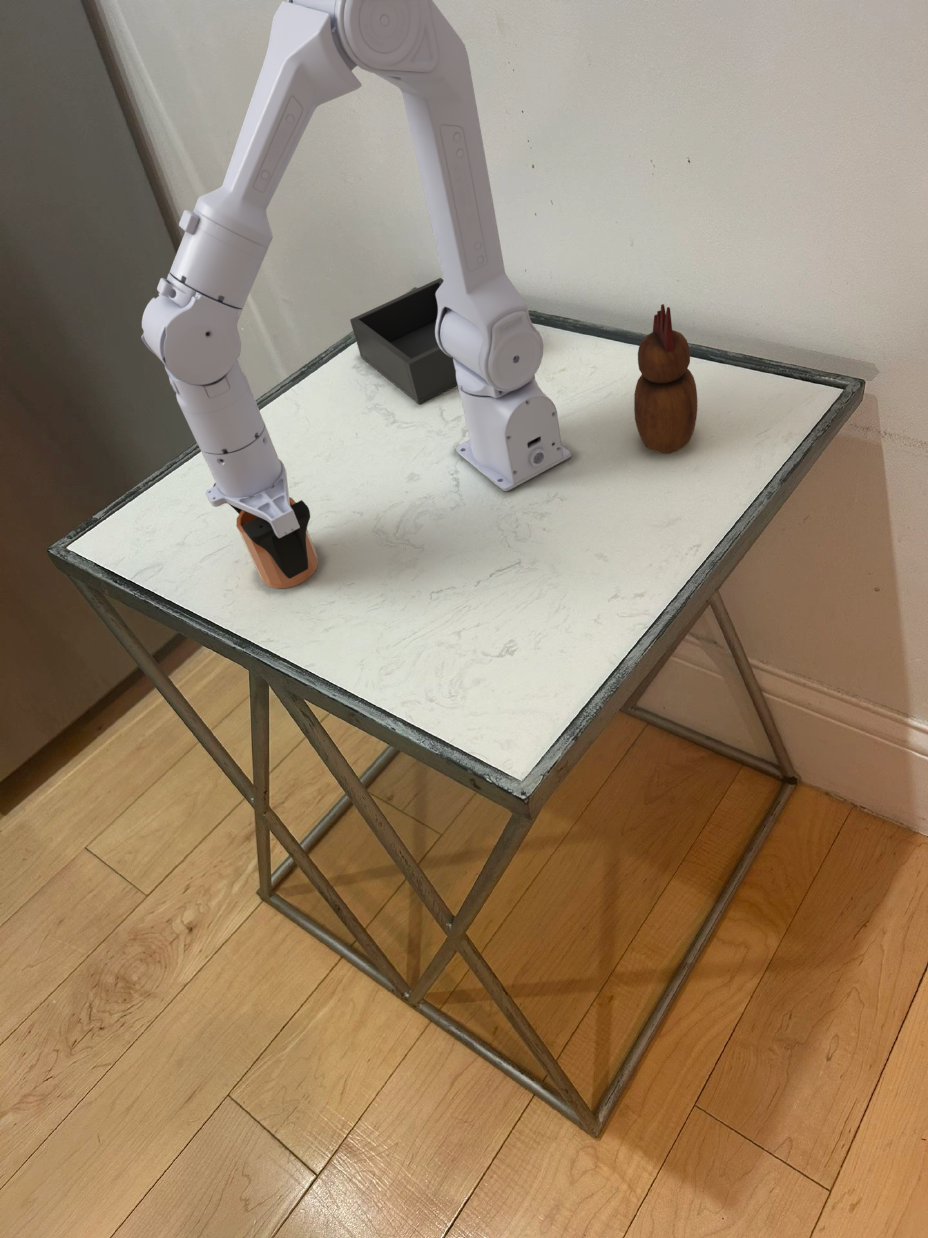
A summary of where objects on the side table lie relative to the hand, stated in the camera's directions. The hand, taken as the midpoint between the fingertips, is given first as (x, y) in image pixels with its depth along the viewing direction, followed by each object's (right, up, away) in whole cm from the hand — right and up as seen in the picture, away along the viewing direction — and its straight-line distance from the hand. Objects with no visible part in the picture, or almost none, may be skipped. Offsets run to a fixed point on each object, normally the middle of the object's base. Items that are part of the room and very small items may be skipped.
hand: (283, 554), depth 87 cm
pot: (0, -1, +1) cm, 2 cm away
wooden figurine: (+37, +11, +4) cm, 38 cm away
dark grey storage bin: (+13, +25, +23) cm, 36 cm away
